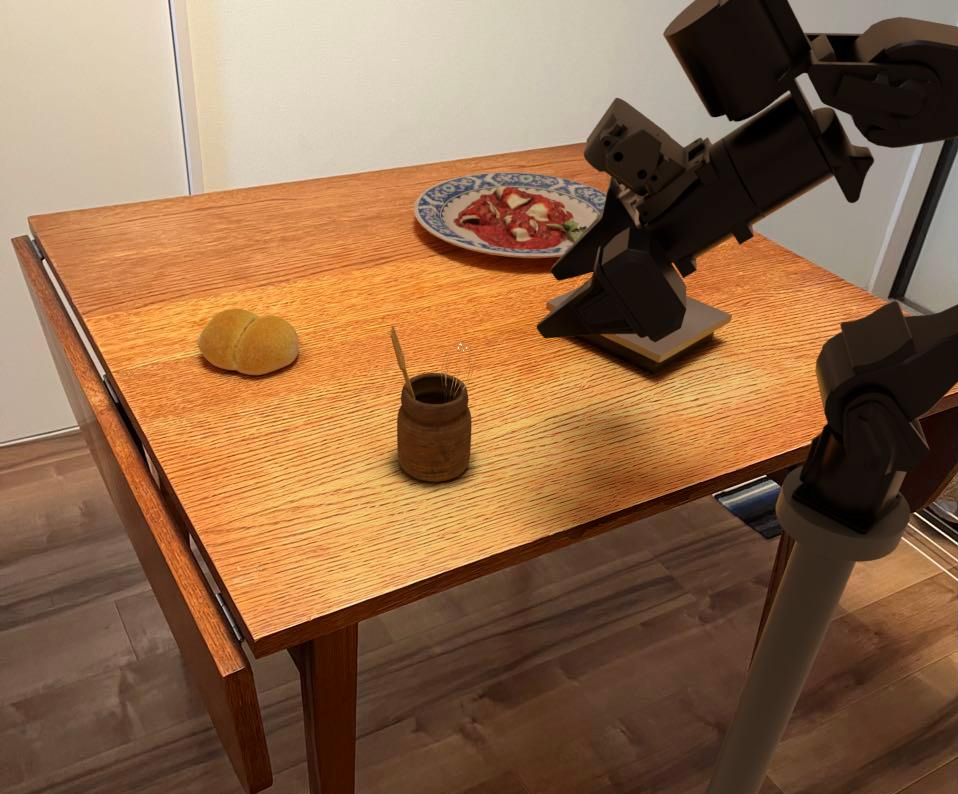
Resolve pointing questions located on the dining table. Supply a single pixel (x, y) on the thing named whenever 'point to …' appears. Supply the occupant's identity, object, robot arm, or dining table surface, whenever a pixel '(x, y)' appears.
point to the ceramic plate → (510, 213)
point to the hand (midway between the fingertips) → (547, 302)
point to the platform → (665, 351)
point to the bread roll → (248, 342)
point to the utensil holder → (433, 422)
